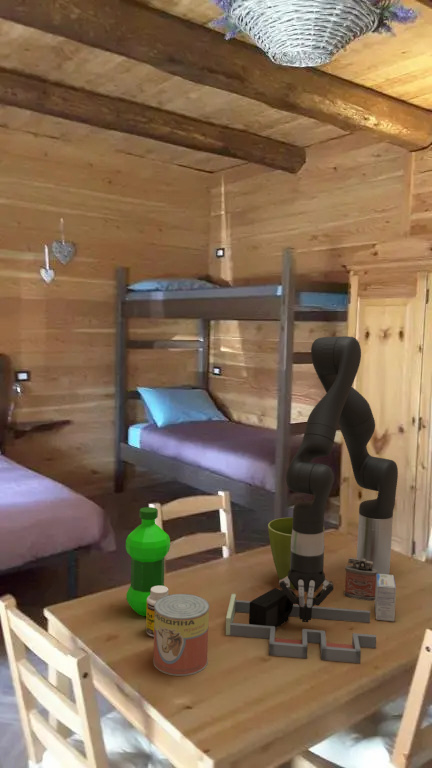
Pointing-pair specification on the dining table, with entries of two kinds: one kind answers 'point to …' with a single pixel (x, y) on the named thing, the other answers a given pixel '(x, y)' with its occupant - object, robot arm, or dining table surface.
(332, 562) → the dining table surface
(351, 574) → the lighter
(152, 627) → the supplement bottle
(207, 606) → the canned food
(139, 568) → the plastic bottle
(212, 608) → the dining table surface
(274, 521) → the flower pot
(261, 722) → the dining table surface
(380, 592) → the medicine box
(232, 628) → the channel
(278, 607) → the digital camera
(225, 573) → the dining table surface
